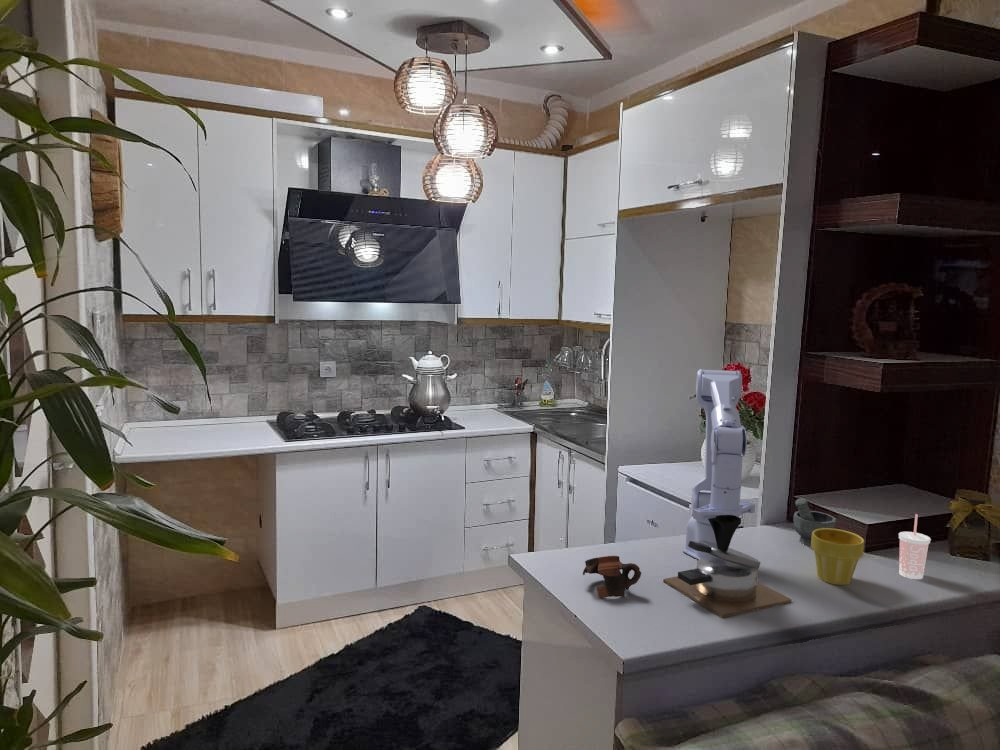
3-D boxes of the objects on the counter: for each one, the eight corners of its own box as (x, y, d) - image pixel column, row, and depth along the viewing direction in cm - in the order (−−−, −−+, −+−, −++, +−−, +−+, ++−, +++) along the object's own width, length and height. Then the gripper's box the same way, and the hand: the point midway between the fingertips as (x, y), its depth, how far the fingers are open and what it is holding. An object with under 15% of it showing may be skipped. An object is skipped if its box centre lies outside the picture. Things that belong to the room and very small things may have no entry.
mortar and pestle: (811, 534, 182) (814, 489, 180) (842, 546, 173) (846, 499, 172) (779, 540, 177) (782, 494, 176) (809, 553, 169) (813, 504, 167)
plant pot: (867, 591, 148) (871, 546, 146) (814, 586, 150) (818, 542, 148) (853, 572, 158) (856, 530, 156) (803, 567, 160) (807, 526, 158)
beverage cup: (893, 575, 156) (898, 514, 154) (897, 567, 161) (902, 508, 159) (925, 583, 152) (931, 520, 151) (928, 574, 157) (934, 513, 155)
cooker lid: (730, 551, 154) (731, 545, 154) (774, 572, 142) (776, 566, 142) (671, 538, 147) (673, 532, 147) (713, 560, 135) (715, 553, 135)
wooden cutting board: (655, 583, 150) (656, 558, 149) (728, 569, 158) (729, 546, 157) (713, 619, 133) (715, 592, 133) (791, 602, 142) (793, 576, 141)
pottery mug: (584, 600, 142) (577, 559, 145) (591, 603, 150) (585, 563, 153) (643, 592, 139) (635, 550, 142) (647, 594, 148) (640, 555, 151)
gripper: (711, 494, 136) (707, 562, 138) (767, 487, 142) (763, 551, 144) (687, 485, 142) (684, 549, 144) (742, 478, 148) (738, 540, 150)
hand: (722, 550), depth 144 cm, fingers closed
